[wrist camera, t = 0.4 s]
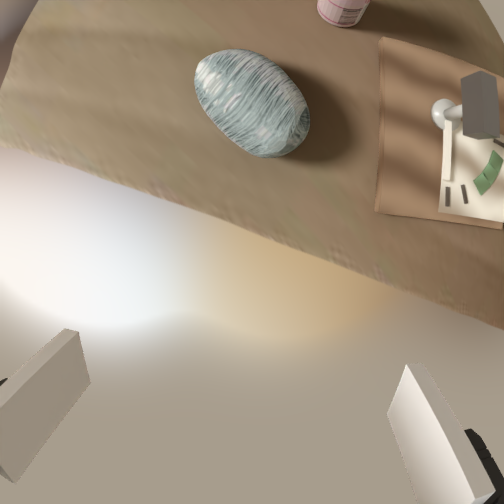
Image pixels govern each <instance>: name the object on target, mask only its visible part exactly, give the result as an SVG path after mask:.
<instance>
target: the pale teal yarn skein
mask: <svg viewBox="0 0 504 504" xmlns="http://www.w3.org/2000/svg"><path fill="white" fill-rule="evenodd" d="M195 89H196V94H197V97H198V100H199V102H200V104H201V106H202V108H203V109H204V111H205V112H206V114H207V115H208V116H209V117H210V119H211V120H212V121H213V122H214V123H215V125H216V126H217V127H218V128H219V129H220V130H221V131H222V132H223V133H224V134H225V135H226V136H227V137H228V138H229V139H231V140H232V141H233V142H234V143H236V144H237V145H238V146H240V147H241V148H243V149H244V150H246V151H247V152H249V153H250V154H252V155H255V156H258V157H262V158H276V157H280V156H283V155H286V154H287V153H289V152H291V151H293V150H294V149H295V148H297V147H298V146H299V145H300V144H301V143H302V142H303V140H304V139H305V137H306V136H307V134H308V131H309V127H310V113H309V109H308V106H307V103H306V101H305V99H304V97H303V95H302V93H301V92H300V90H299V89H298V87H297V86H296V85H295V84H294V82H293V81H292V80H291V79H290V78H289V77H288V75H287V74H286V73H285V72H284V71H283V70H282V69H281V68H280V67H279V66H278V65H276V64H275V63H274V62H272V61H271V60H269V59H268V58H266V57H265V56H263V55H261V54H259V53H256V52H253V51H250V50H244V49H231V50H223V51H220V52H217V53H214V54H211V55H209V56H207V57H206V58H204V59H203V60H202V61H201V62H200V63H199V64H198V67H197V69H196V72H195Z"/></svg>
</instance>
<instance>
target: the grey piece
mask: <svg viewBox="0 0 504 504" xmlns="http://www.w3.org/2000/svg"><path fill="white" fill-rule="evenodd" d="M460 80H461V94H462V104H461V105H458V106H456V105H455V104H454V103H453V102H452V101H450V100H448V99H440V100H438V101H436V102H434V103H433V105H432V107H431V118H432V121H433V122H434V124H435V125H436V127H437V128H439V129H440V130H442V131H443V162H442V178H441V179H443V180H449V181H450V170H451V147H452V131H453V130H456V129H457V128H458V127H459V125H460V121H461V117H462V119H463V135H464V136H467V137H470V138H474V139H477V140H481V139H493V138H500V121H499V102H498V90H497V80H496V77H495V76H492V75H490V74H488V73H486V72H483V71H481V70H480V71H477V72H475V73H473V74H470V75H468V76H466V77H463V78H461V79H460Z"/></svg>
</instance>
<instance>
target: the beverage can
mask: <svg viewBox="0 0 504 504" xmlns="http://www.w3.org/2000/svg"><path fill="white" fill-rule="evenodd" d="M370 1H371V0H318V4H317V9H318V12H319V14H320V15H321V17H322V18H323V19H324V20H326V21H327V22H329V23H330V24H333V25H335V26H339V27H350V26H353V25H355V24H356V23H358V22H359V20H360V18H361V17H362V15H363V13H364V11H365V10H366V8H367V6H368V4H369V2H370Z"/></svg>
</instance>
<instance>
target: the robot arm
mask: <svg viewBox="0 0 504 504" xmlns="http://www.w3.org/2000/svg"><path fill="white" fill-rule="evenodd" d="M90 383H91V382H90V378H89V375H88V371H87V367H86V363H85V359H84V355H83V350H82V346H81V341H80V337H79V332H77V331H73V330H69V329H64V330H62V331H61V332H60V333H59V334H58V335H57V336H55V337H54V338H53V339H52V340H51V341H50V342H49V343H47V344H46V345H45V346H44V347H43V348H42V349H41V350H39V351H38V352H37V353H36V354H35V355H34V356H33V357H32V358H30V359H29V360H28V361H27V362H26V363H25V364H24V365H23V366H22V367H21V368H20V369H18V370H17V371H16V372H15V373H14V374H13V375H12V376H11V377H10V378H9V379H8V378H5V379H3V380H1V381H0V474H1V475H2V476H3V477H5V478H6V479H8V480H9V481H11V482H12V483H14V484H16V483H17V482H18V480H19V479H20V477H21V476H22V474H23V473H24V472H25V470H26V469H27V467H28V466H29V465H30V463H31V462H32V460H33V459H34V458H35V456H36V455H37V453H38V452H39V451H40V449H41V448H42V447H43V445H44V444H45V443H46V441H47V440H48V438H49V437H50V436H51V434H52V433H53V432H54V430H55V429H56V428H57V426H58V425H59V424H60V422H61V421H62V420H63V418H64V417H65V416H66V414H67V413H68V412H69V411H70V409H71V408H72V407H73V405H74V404H75V403H76V401H77V400H78V399H79V398H80V396H81V395H82V394H83V392H84V391H85V390H86V389H87V387H88V386H89V385H90ZM387 417H388V419H389V422H390V424H391V427H392V430H393V433H394V436H395V438H396V441H397V444H398V447H399V449H400V453H401V455H402V458H403V461H404V464H405V467H406V470H407V473H408V476H409V479H410V482H411V485H412V488H413V492H414V495H415V498H416V501H417V504H504V478H503V476H502V474H501V472H500V470H499V468H498V466H497V465H496V463H495V461H494V459H493V458H491V454H490V452H489V450H488V449H486V448H487V447H486V445H485V443H484V442H483V440H482V438H481V437H480V436H479V435H478V434H477V433H475V432H474V431H473V430H472V429H467V430H463V428H462V426H461V425H460V423H459V421H458V420H457V418H456V416H455V414H454V413H453V411H452V409H451V408H450V406H449V404H448V403H447V401H446V399H445V398H444V396H443V394H442V393H441V391H440V390H439V388H438V386H437V385H436V383H435V382H434V380H433V378H432V377H431V375H430V374H429V372H428V371H427V369H426V368H425V366H424V364H423V363H415V364H406V366H405V369H404V372H403V375H402V377H401V380H400V383H399V385H398V388H397V390H396V393H395V396H394V398H393V400H392V403H391V405H390V408H389V410H388V412H387Z"/></svg>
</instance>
